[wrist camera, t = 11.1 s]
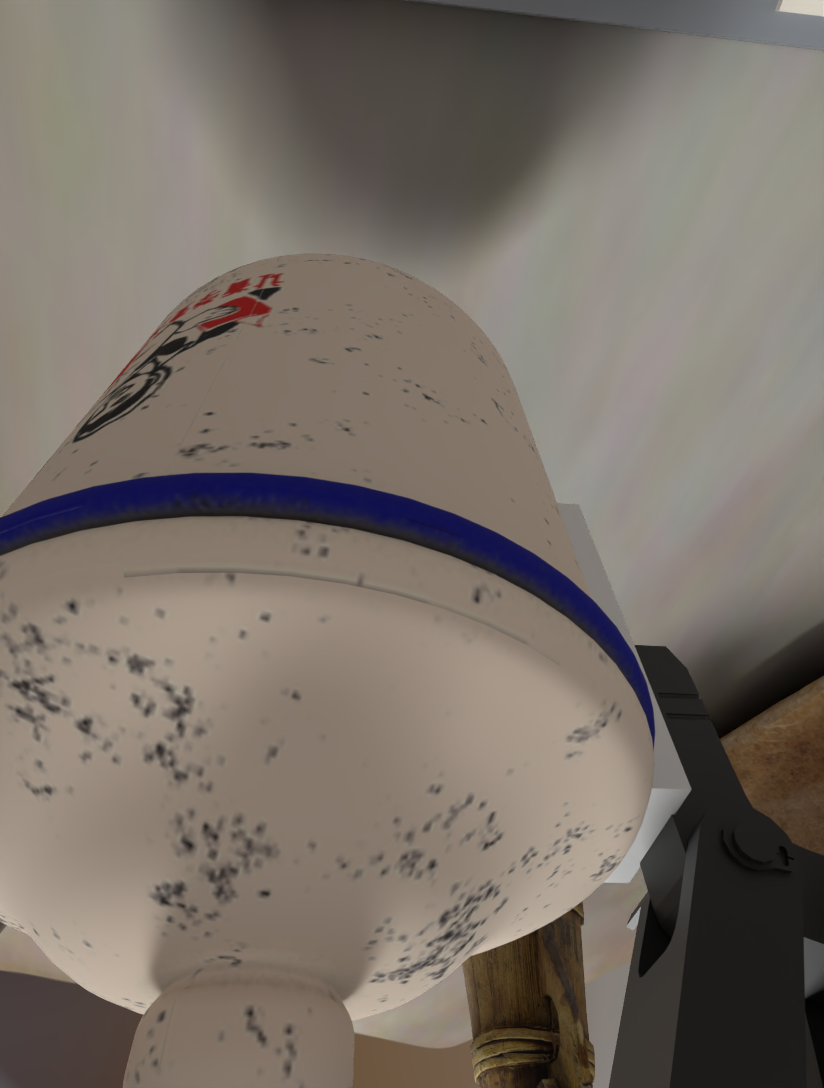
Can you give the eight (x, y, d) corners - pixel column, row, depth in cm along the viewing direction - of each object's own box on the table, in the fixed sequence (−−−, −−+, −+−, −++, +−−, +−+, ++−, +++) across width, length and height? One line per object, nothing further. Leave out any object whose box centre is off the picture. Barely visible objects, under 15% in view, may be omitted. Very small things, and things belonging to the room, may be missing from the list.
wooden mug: (639, 842, 38) (769, 1310, 24) (548, 927, 46) (605, 1314, 32) (501, 821, 37) (555, 1308, 23) (432, 913, 45) (440, 1312, 31)
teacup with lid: (214, 122, 11) (-878, 604, 1) (615, 384, 14) (1064, 1061, 5) (50, 583, 17) (-355, 1225, 8) (352, 692, 20) (320, 1240, 11)
